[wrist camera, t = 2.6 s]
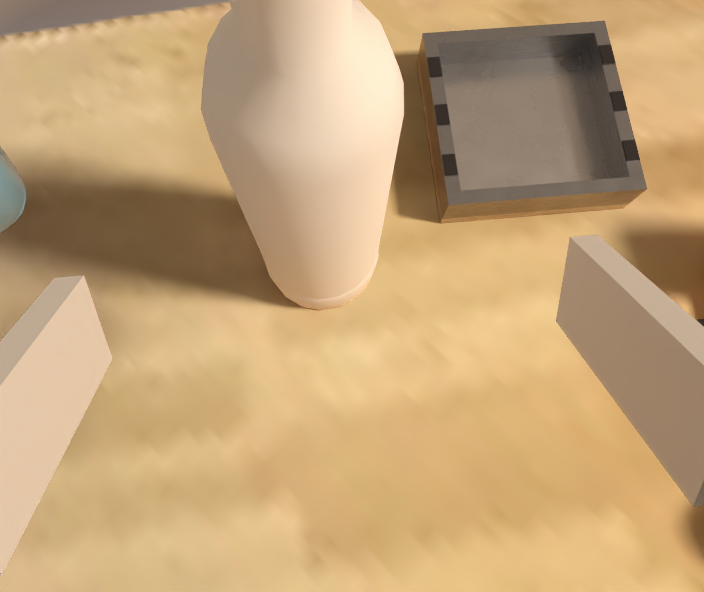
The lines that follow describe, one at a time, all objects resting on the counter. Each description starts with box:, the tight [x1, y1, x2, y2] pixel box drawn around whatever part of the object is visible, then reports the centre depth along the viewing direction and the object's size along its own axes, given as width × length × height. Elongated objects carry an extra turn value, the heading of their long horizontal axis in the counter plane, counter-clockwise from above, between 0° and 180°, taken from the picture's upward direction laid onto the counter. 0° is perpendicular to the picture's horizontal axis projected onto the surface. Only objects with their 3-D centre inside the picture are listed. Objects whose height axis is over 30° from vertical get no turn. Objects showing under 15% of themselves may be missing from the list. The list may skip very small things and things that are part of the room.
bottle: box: [201, 0, 404, 310], centre depth 25 cm, size 8×8×30 cm
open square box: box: [417, 21, 647, 223], centre depth 41 cm, size 14×14×3 cm
